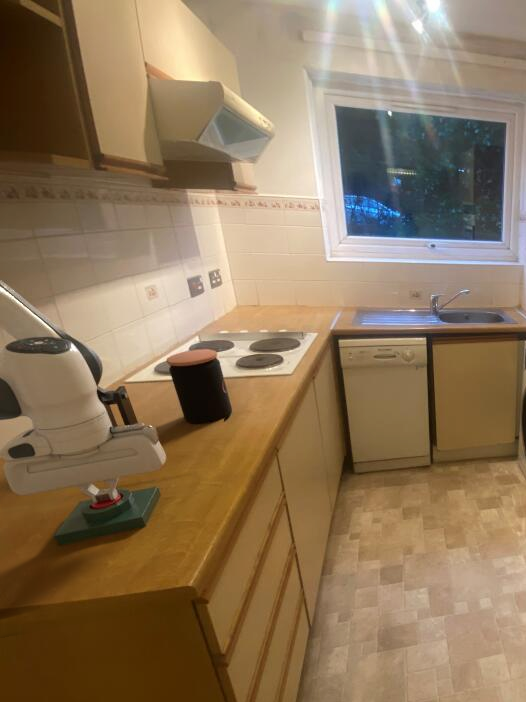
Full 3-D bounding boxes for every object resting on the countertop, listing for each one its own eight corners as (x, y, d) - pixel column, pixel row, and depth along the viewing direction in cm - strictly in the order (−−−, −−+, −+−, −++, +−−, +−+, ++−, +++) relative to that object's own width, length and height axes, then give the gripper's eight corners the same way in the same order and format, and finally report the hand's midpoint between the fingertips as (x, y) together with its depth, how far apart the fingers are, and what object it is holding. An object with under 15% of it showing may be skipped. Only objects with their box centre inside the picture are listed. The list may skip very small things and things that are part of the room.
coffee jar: (240, 416, 118) (224, 354, 111) (197, 432, 110) (176, 365, 103) (222, 406, 124) (205, 346, 117) (179, 420, 116) (158, 357, 109)
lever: (89, 384, 89) (89, 368, 90) (67, 387, 88) (67, 371, 89) (123, 405, 102) (122, 391, 103) (103, 408, 100) (103, 393, 101)
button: (90, 517, 76) (87, 509, 76) (99, 504, 80) (96, 496, 79) (119, 511, 78) (115, 503, 77) (126, 498, 81) (123, 491, 81)
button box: (58, 546, 73) (49, 527, 72) (83, 510, 82) (75, 493, 80) (145, 526, 78) (138, 508, 76) (161, 495, 86) (154, 478, 85)
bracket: (141, 449, 102) (121, 396, 97) (98, 456, 99) (75, 402, 94) (153, 430, 111) (136, 380, 105) (114, 436, 108) (94, 385, 102)
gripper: (158, 413, 80) (179, 476, 85) (7, 435, 72) (42, 503, 77) (147, 428, 74) (171, 495, 80) (-16, 454, 67) (22, 526, 72)
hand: (106, 499), depth 78 cm, fingers closed, pressing on button
